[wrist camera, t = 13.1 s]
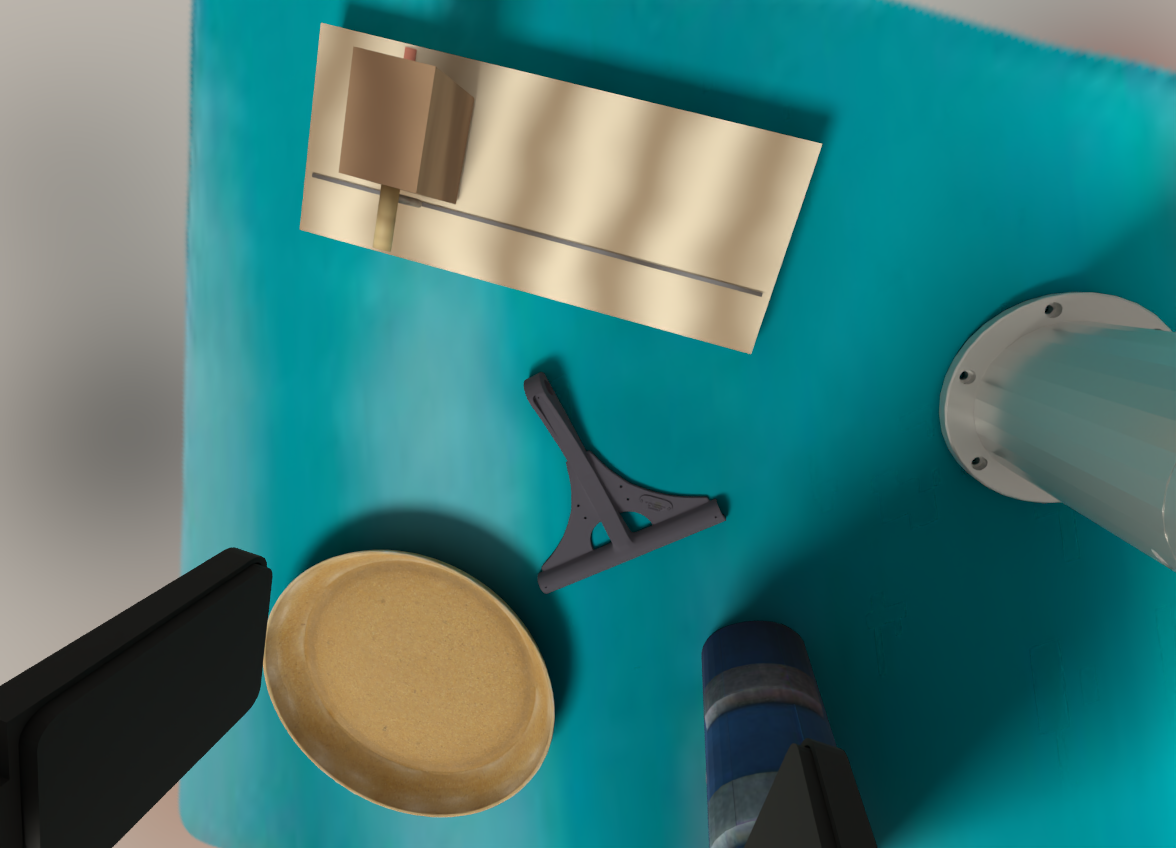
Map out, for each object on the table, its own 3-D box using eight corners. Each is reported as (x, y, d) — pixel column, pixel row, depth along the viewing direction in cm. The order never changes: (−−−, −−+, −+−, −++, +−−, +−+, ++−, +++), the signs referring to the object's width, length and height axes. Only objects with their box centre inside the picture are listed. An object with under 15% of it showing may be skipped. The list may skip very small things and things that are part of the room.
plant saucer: (329, 785, 53) (307, 818, 50) (252, 545, 48) (221, 564, 45) (586, 785, 48) (579, 821, 45) (532, 518, 43) (520, 538, 40)
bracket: (629, 325, 39) (624, 329, 36) (725, 514, 41) (728, 531, 38) (454, 417, 42) (438, 426, 40) (551, 585, 45) (542, 605, 42)
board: (814, 151, 34) (822, 143, 32) (747, 349, 37) (751, 354, 35) (340, 35, 36) (320, 22, 34) (318, 231, 40) (299, 229, 38)
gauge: (474, 98, 34) (435, 66, 29) (445, 260, 37) (405, 258, 31) (404, 80, 34) (353, 46, 29) (381, 242, 37) (330, 238, 32)
